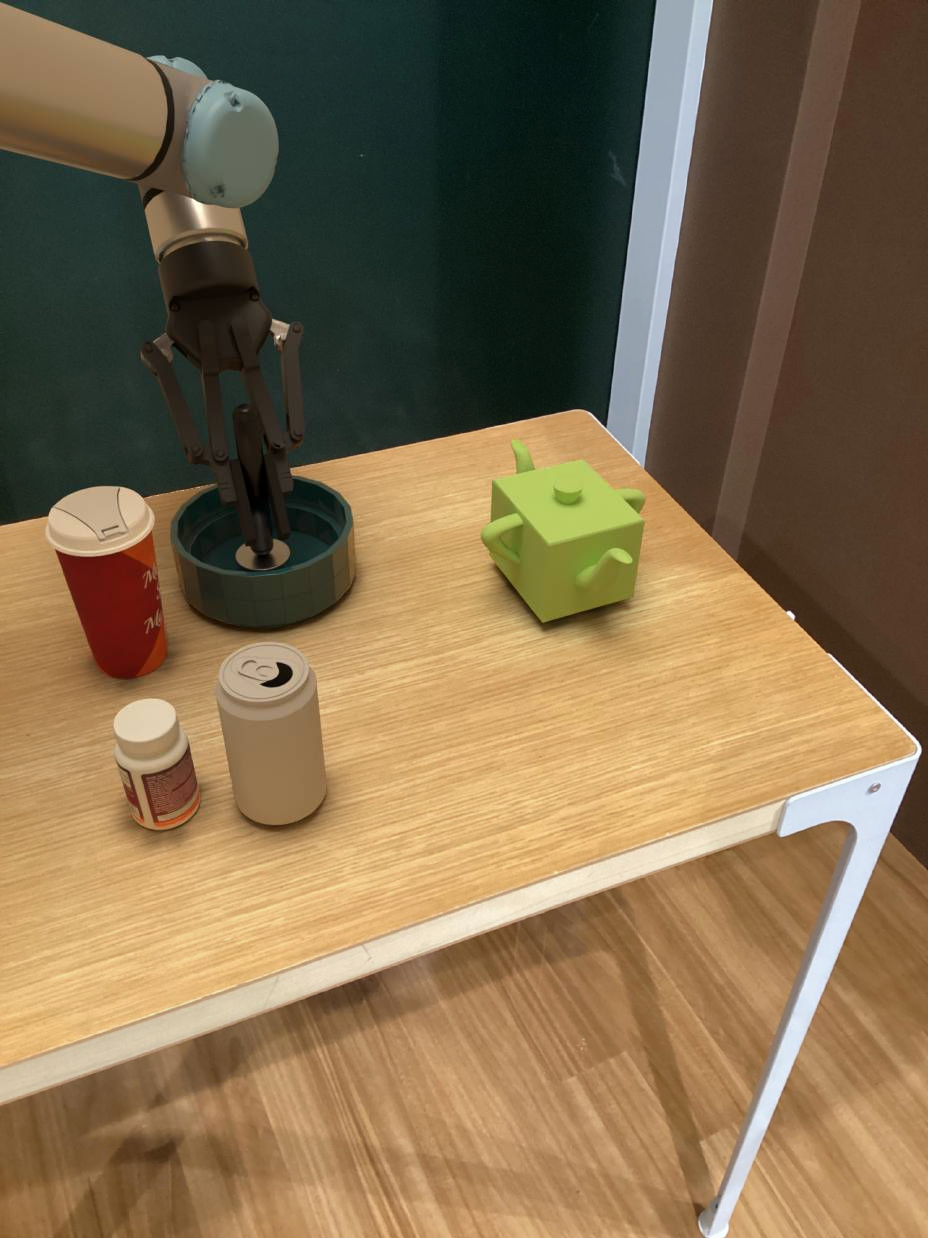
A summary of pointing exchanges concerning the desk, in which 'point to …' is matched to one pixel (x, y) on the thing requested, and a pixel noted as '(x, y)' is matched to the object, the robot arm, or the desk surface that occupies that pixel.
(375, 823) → the desk surface
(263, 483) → the rod on base
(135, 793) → the pill bottle
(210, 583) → the bowl
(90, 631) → the paper cup
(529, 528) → the teapot
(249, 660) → the beverage can
